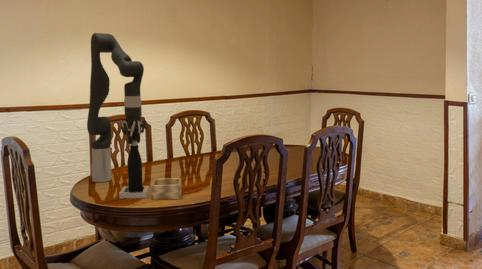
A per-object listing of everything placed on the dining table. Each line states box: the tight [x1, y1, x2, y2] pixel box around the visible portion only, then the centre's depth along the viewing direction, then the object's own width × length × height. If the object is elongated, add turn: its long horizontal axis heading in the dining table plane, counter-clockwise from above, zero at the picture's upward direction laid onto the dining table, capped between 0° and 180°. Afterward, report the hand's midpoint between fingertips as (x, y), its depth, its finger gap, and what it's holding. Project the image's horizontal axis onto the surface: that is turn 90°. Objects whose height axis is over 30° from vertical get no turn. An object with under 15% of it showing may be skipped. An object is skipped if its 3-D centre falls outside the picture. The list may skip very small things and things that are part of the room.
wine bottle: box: [127, 128, 144, 192], centre depth 217 cm, size 6×6×30 cm
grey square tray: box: [118, 185, 150, 200], centre depth 218 cm, size 12×12×2 cm
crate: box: [150, 177, 182, 201], centre depth 216 cm, size 13×13×6 cm
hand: (134, 143), depth 215 cm, fingers closed on wine bottle, 4 cm apart
